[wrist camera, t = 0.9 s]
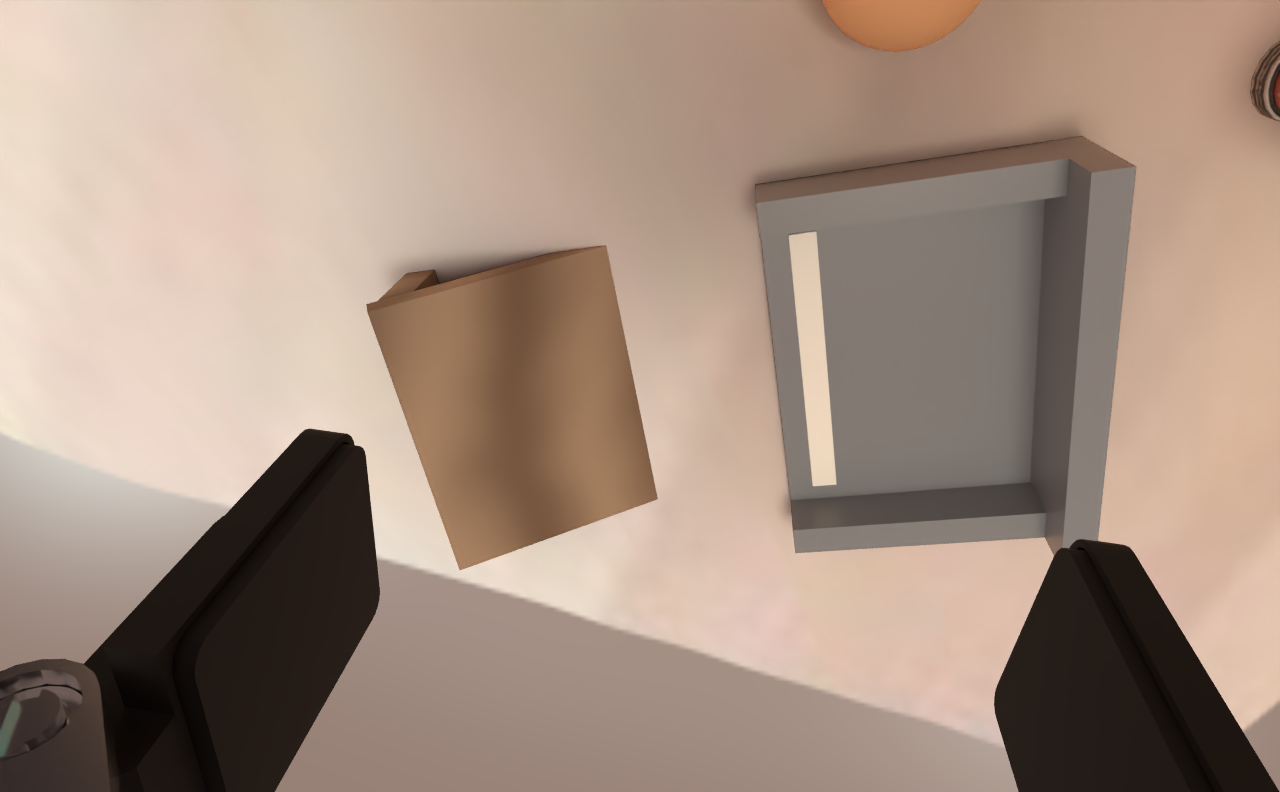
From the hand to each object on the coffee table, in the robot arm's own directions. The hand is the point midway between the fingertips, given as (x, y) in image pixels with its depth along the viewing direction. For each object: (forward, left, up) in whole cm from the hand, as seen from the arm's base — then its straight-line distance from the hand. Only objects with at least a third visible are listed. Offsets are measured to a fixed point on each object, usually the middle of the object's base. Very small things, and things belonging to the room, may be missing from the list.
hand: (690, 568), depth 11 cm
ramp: (+9, +8, -21) cm, 24 cm away
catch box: (-6, +8, -21) cm, 24 cm away
